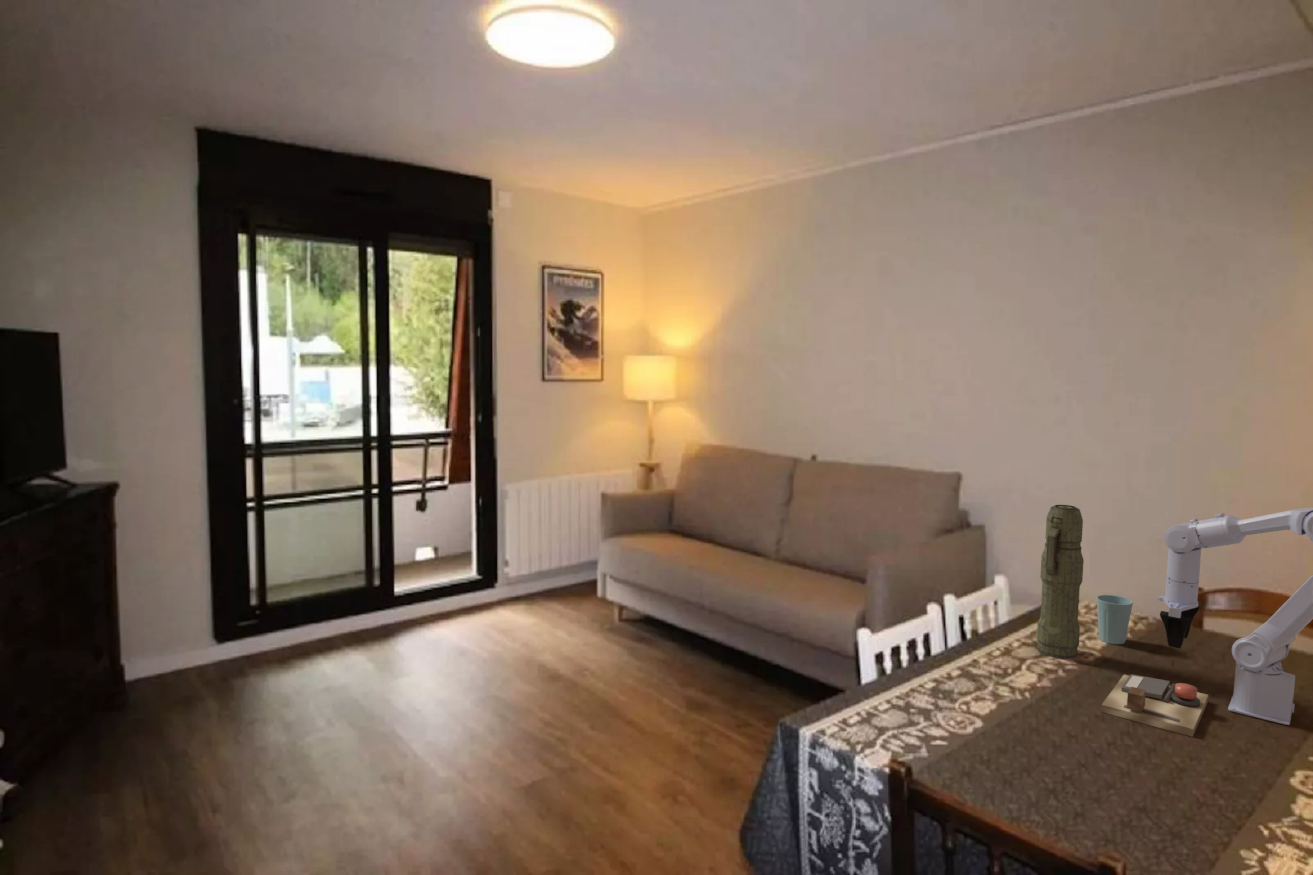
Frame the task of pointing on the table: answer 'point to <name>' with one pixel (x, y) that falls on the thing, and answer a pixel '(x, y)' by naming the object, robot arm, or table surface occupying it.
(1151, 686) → the paddle switch
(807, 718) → the table surface
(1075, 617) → the thermos
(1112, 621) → the cup
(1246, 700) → the robot arm
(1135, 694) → the slider knob
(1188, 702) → the control panel
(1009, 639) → the table surface
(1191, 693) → the push button
